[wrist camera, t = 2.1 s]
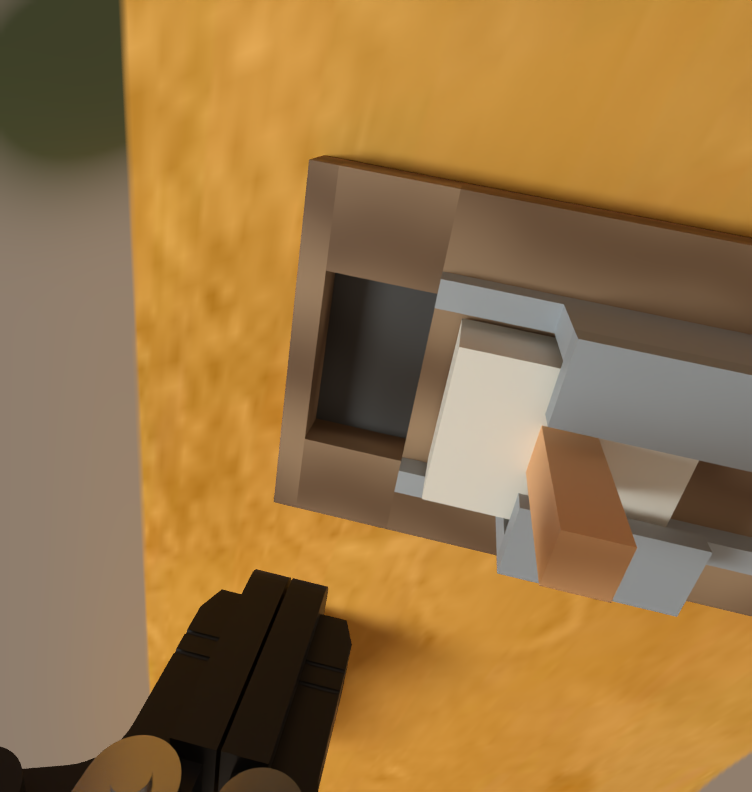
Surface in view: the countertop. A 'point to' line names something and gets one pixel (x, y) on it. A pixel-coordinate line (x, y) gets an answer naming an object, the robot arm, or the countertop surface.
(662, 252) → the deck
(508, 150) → the countertop surface
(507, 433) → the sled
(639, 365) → the tunnel
